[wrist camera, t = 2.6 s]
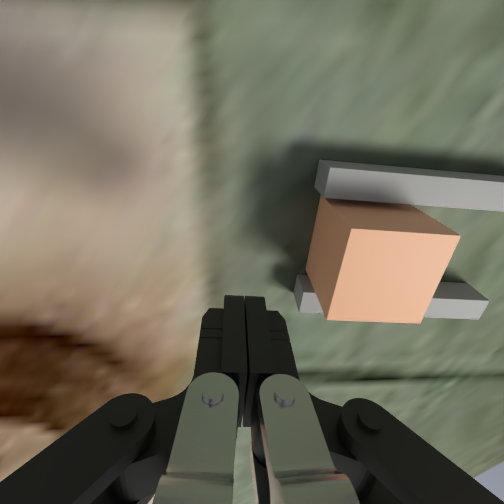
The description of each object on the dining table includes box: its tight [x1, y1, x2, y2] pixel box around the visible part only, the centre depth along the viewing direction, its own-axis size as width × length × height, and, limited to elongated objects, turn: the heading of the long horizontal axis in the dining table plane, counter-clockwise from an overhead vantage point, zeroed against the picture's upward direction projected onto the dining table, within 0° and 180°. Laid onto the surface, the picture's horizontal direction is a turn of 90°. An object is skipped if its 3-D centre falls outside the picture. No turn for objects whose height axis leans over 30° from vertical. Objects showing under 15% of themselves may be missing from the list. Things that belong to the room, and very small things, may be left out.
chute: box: [294, 160, 504, 319], centre depth 18 cm, size 9×12×2 cm
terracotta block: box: [306, 195, 461, 323], centre depth 16 cm, size 5×5×5 cm
